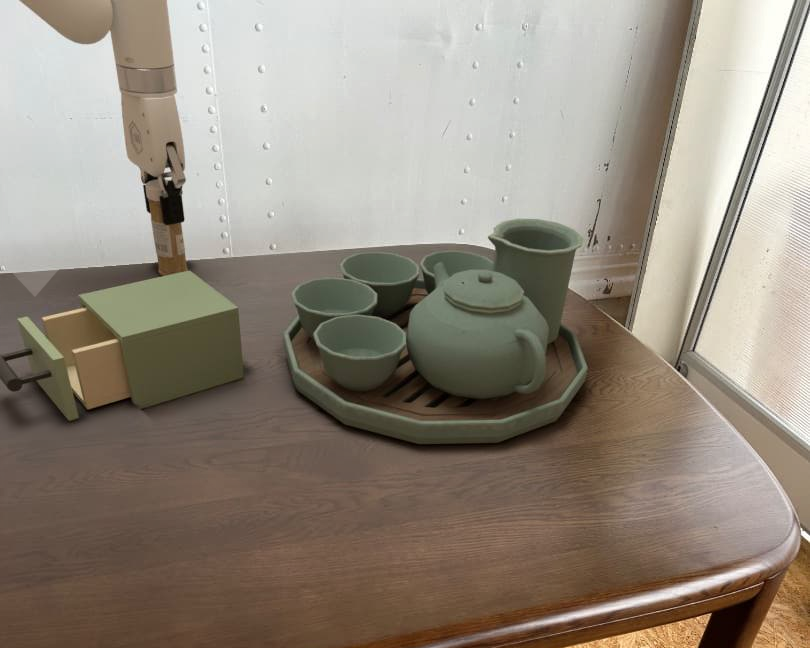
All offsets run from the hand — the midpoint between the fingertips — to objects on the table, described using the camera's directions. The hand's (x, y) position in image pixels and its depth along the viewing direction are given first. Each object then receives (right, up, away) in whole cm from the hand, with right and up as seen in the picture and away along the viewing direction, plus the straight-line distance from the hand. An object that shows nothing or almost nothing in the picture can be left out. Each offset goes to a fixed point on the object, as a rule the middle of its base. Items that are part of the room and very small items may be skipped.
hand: (165, 215), depth 117 cm
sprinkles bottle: (-1, -7, +6) cm, 9 cm away
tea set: (+39, -25, -11) cm, 48 cm away
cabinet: (+5, -27, -17) cm, 32 cm away
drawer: (-3, -30, -22) cm, 38 cm away
